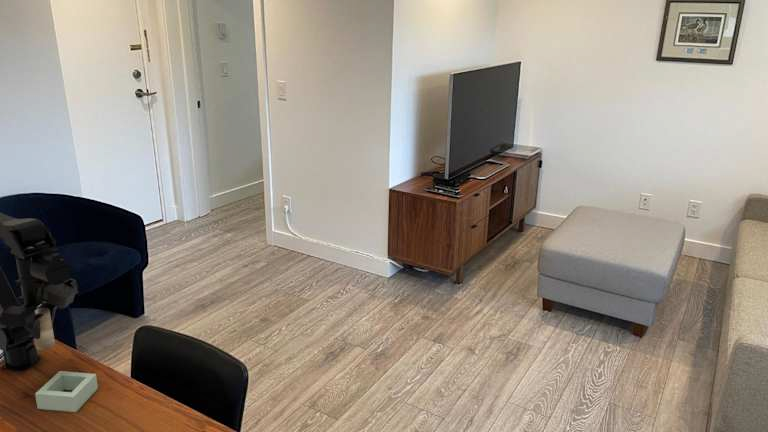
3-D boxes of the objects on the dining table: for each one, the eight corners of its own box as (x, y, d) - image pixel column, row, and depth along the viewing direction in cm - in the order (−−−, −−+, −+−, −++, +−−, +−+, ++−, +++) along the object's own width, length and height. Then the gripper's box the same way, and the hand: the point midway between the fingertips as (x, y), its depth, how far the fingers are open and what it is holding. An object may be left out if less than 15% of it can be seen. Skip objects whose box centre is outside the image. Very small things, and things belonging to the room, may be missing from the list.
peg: (32, 349, 137) (26, 315, 135) (42, 340, 141) (37, 307, 138) (48, 350, 137) (42, 316, 134) (58, 341, 141) (53, 308, 138)
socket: (37, 408, 131) (35, 393, 130) (61, 385, 139) (59, 370, 138) (76, 412, 130) (73, 397, 129) (97, 388, 139) (96, 374, 138)
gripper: (40, 294, 124) (51, 357, 129) (89, 260, 142) (97, 317, 146) (-9, 290, 125) (3, 354, 130) (46, 257, 142) (55, 314, 147)
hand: (43, 334), depth 138 cm, fingers closed on peg, 4 cm apart
